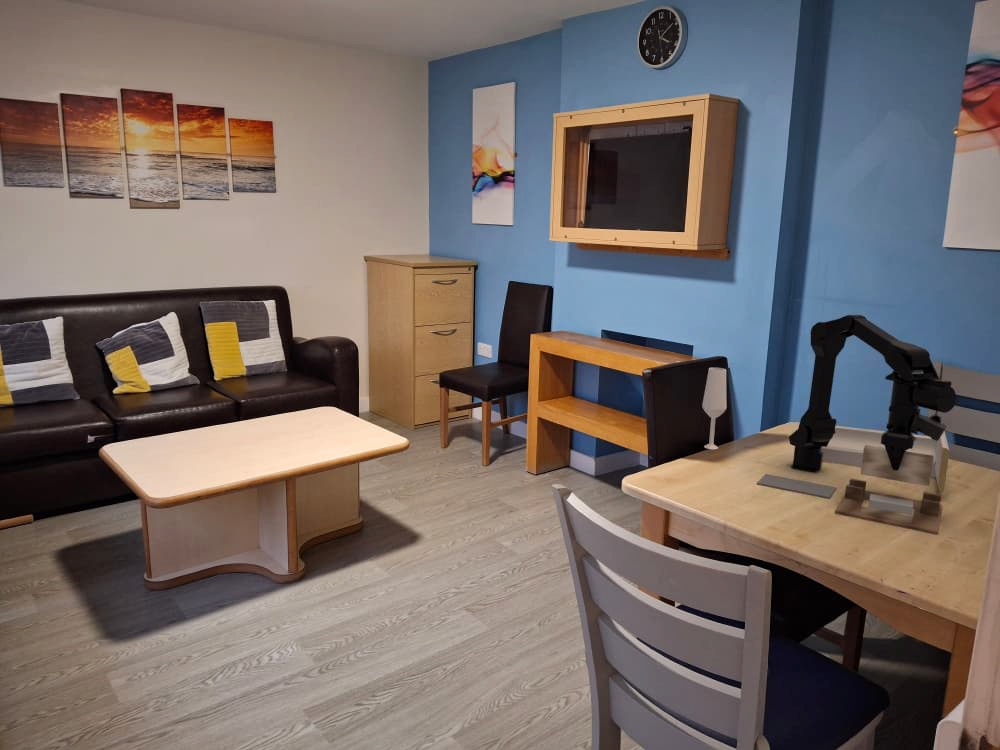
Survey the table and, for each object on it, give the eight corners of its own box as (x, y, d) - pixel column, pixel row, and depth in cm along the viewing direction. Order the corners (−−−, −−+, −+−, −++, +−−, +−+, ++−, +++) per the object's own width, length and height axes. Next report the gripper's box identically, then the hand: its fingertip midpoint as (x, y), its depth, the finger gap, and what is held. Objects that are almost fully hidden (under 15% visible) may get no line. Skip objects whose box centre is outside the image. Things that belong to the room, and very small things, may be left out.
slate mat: (756, 484, 181) (756, 482, 180) (765, 475, 188) (765, 473, 188) (829, 498, 171) (830, 497, 171) (836, 488, 179) (836, 487, 179)
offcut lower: (860, 513, 161) (861, 505, 160) (863, 507, 165) (864, 499, 164) (911, 524, 155) (912, 516, 155) (913, 517, 159) (914, 509, 159)
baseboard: (943, 497, 172) (950, 448, 170) (929, 495, 173) (935, 446, 171) (938, 466, 199) (944, 424, 197) (926, 465, 200) (931, 423, 198)
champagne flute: (727, 453, 207) (734, 371, 203) (706, 453, 206) (712, 371, 202) (715, 446, 214) (722, 366, 210) (694, 447, 212) (700, 367, 208)
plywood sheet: (860, 474, 170) (863, 447, 168) (862, 471, 172) (865, 444, 171) (929, 486, 162) (933, 458, 161) (930, 483, 165) (933, 455, 163)
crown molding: (943, 440, 193) (946, 434, 190) (942, 481, 188) (945, 476, 185) (816, 425, 206) (817, 419, 203) (812, 463, 201) (813, 458, 198)
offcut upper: (868, 507, 160) (869, 499, 159) (869, 501, 163) (870, 493, 163) (912, 515, 156) (913, 507, 155) (911, 508, 159) (913, 501, 159)
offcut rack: (834, 513, 162) (836, 497, 162) (848, 489, 179) (849, 475, 178) (937, 534, 151) (940, 518, 151) (942, 507, 168) (944, 492, 167)
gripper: (944, 415, 152) (934, 486, 155) (947, 400, 167) (938, 465, 170) (885, 407, 158) (876, 476, 161) (893, 394, 173) (885, 456, 176)
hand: (896, 468), depth 167 cm, fingers closed on plywood sheet, 3 cm apart
